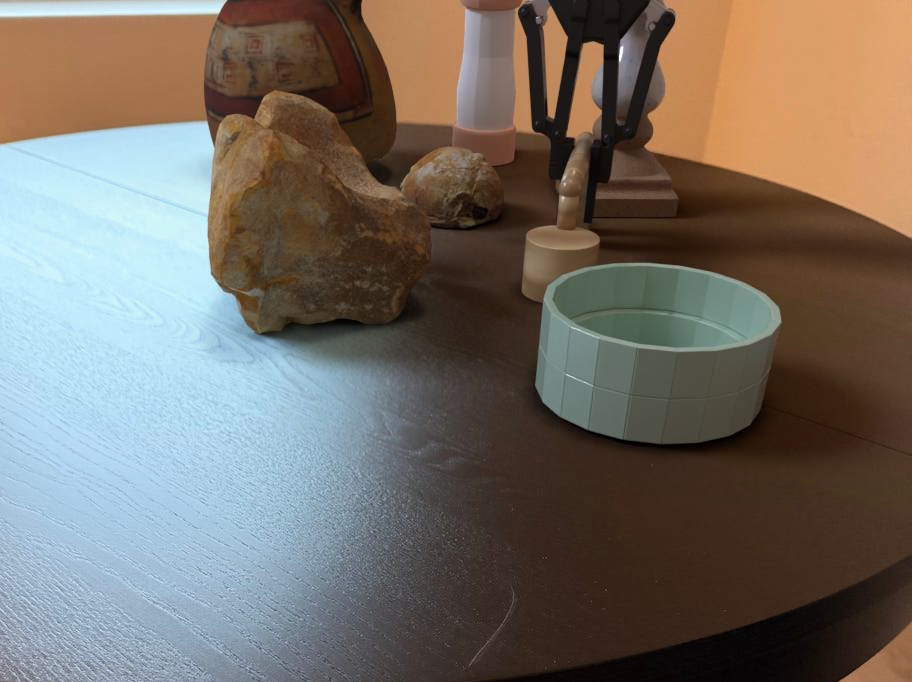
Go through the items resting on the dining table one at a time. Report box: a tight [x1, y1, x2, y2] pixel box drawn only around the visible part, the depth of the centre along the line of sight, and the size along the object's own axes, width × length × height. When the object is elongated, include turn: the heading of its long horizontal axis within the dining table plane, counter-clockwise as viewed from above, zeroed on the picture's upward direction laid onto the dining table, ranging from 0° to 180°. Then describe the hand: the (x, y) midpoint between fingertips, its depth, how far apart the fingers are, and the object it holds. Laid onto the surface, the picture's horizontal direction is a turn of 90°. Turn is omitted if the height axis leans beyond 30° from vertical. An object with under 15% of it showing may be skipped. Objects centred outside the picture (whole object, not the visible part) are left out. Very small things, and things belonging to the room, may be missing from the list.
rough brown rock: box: [206, 90, 433, 335], centre depth 79 cm, size 23×17×15 cm
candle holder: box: [555, 0, 679, 218], centre depth 101 cm, size 11×11×24 cm
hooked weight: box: [521, 131, 601, 304], centre depth 90 cm, size 22×6×9 cm, turn 169°
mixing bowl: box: [534, 262, 783, 445], centre depth 69 cm, size 15×15×7 cm
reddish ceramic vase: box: [203, 0, 398, 165], centre depth 104 cm, size 20×20×30 cm
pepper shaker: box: [451, 0, 524, 167], centre depth 114 cm, size 7×7×19 cm
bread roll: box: [400, 145, 505, 230], centre depth 102 cm, size 10×10×8 cm
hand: (575, 217), depth 96 cm, fingers closed on hooked weight, 2 cm apart
